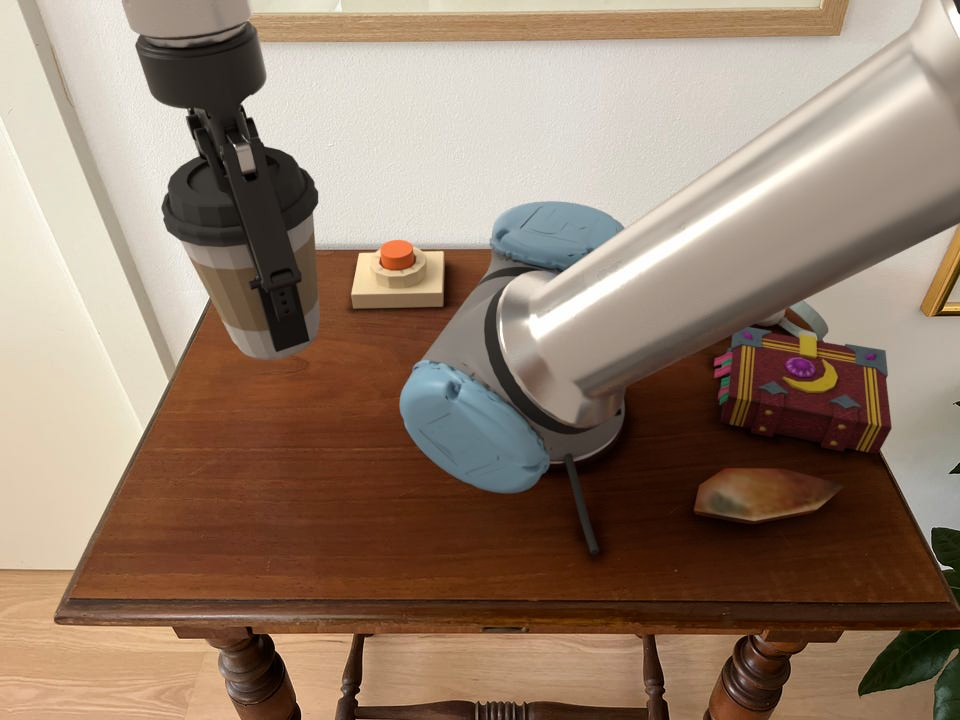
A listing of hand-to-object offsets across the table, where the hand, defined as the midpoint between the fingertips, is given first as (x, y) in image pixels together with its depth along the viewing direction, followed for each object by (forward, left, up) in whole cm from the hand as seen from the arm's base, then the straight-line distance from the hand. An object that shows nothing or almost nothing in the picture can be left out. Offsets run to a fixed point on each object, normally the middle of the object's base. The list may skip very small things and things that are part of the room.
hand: (270, 303), depth 60 cm
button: (+21, -18, -14) cm, 31 cm away
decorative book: (-17, -47, -18) cm, 53 cm away
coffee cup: (0, 0, -3) cm, 3 cm away
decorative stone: (-26, -36, -15) cm, 46 cm away
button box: (+21, -18, -18) cm, 33 cm away
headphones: (+7, -52, -16) cm, 55 cm away
